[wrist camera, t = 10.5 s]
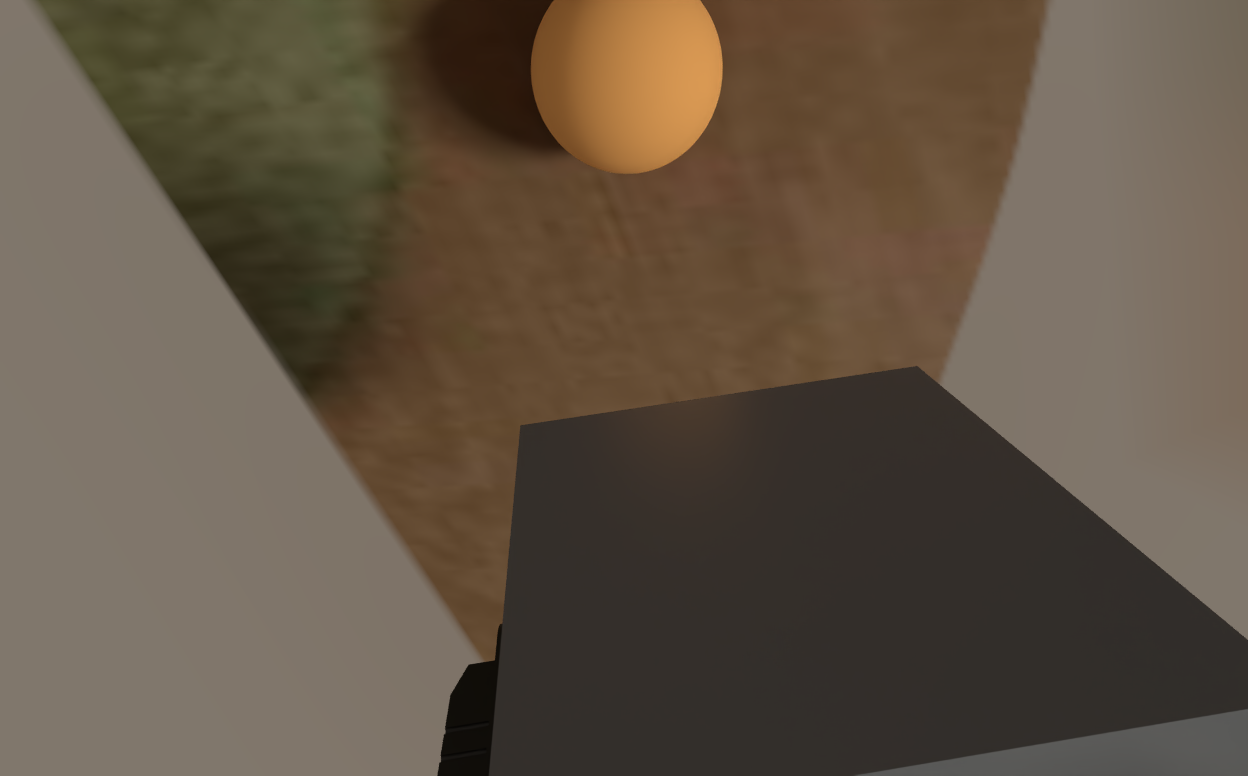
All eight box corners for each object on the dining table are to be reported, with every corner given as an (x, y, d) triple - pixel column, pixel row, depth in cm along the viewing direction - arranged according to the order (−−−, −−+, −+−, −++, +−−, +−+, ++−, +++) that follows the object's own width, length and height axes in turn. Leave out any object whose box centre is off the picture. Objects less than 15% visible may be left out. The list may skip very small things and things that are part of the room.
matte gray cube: (579, 707, 14) (599, 1182, 8) (520, 425, 11) (483, 837, 5) (895, 655, 14) (1142, 1080, 8) (917, 366, 11) (1316, 696, 5)
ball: (486, 108, 16) (503, 105, 20) (666, 223, 17) (644, 196, 22) (599, -111, 14) (591, -61, 19) (786, 33, 16) (735, 48, 20)
